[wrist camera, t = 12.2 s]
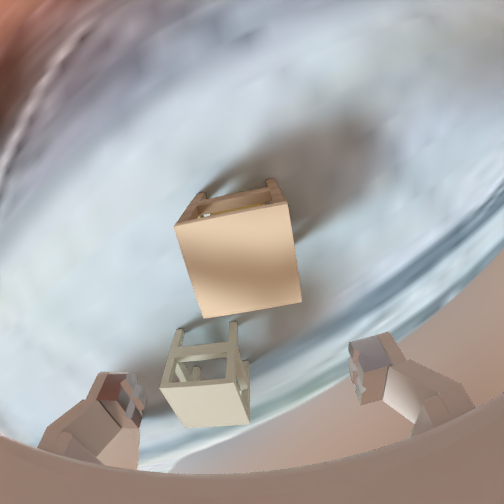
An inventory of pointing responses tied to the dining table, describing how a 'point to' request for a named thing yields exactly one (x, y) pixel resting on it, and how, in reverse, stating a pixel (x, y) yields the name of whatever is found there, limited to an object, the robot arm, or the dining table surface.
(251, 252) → the tan square stool
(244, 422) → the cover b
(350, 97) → the dining table surface
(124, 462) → the jar
